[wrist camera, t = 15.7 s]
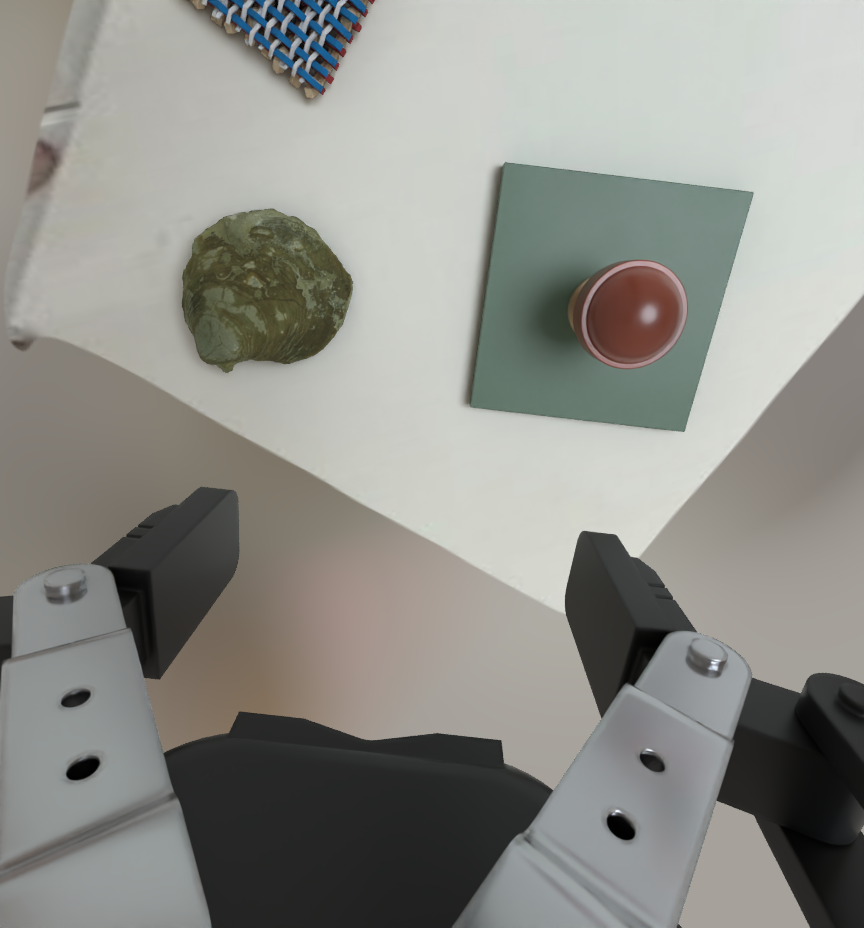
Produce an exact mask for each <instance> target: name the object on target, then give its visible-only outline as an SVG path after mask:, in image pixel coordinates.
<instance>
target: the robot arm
mask: <svg viewBox="0 0 864 928" xmlns="http://www.w3.org/2000/svg"><path fill="white" fill-rule="evenodd" d="M238 559H239V511H238V496H237V493H236V492H235V491H234V490H226V489H217V488H208V487H200V488H198V489H197V490H196V491H195V492H193V493H192V494H191V495H190V496H189V497H188V498H186V499H185V500H184V501H183V502H182V503H181V504H180V505H172V506H169V507H167V508H164V509H162V510H160V511H157V512H155V513H152V514H151V515H150V516H149V517H147V518H146V519H145V520H144V521H143V522H141V523H140V524H139V525H138V527H135V528H134V529H133V530H131V531H130V532H129V533H128V534H127V536H126V537H123V538H122V539H120V540H119V541H118V542H117V543H115V544H114V545H113V546H112V547H111V548H109V549H108V550H107V551H106V552H104V553H103V554H102V555H101V556H99V557H98V558H97V559H96V560H94V561H93V562H92V563H91V564H72V565H65V566H60V567H55V568H52V569H49V570H46V571H43V572H41V573H38V574H36V575H34V576H32V577H30V578H29V579H27V580H26V581H24V582H23V583H22V584H21V585H20V586H19V587H18V588H17V589H16V591H15V593H14V596H4V597H0V928H682V927H681V926H680V925H679V924H678V922H679V919H680V916H681V913H682V909H683V906H684V903H685V900H686V897H687V893H688V890H689V887H690V884H691V881H692V878H693V874H694V871H695V868H696V865H697V862H698V858H699V855H700V852H701V849H702V845H703V842H704V839H705V836H706V832H707V829H708V826H709V823H710V819H711V817H712V813H713V810H714V807H715V804H716V801H719V802H721V803H724V804H727V805H729V806H732V807H734V808H737V809H739V810H742V811H745V812H747V813H750V814H752V815H754V816H755V818H756V820H757V823H758V825H759V827H760V829H761V830H762V833H763V835H764V837H765V839H766V841H767V843H768V845H769V847H770V848H771V851H772V853H773V855H774V857H775V858H776V860H777V862H778V864H779V866H780V868H781V870H782V872H783V874H784V876H785V878H786V880H787V882H788V884H789V886H790V888H791V890H792V892H793V894H794V896H795V898H796V900H797V902H798V904H799V906H800V908H801V910H802V912H803V914H804V916H805V918H806V920H807V922H808V924H809V926H810V928H864V835H863V833H862V832H861V829H862V827H863V826H864V684H862V683H860V682H857V681H855V680H852V679H849V678H847V677H843V676H840V675H835V674H830V673H817V674H813V675H811V676H810V677H809V678H808V679H807V681H806V683H805V686H804V688H803V690H802V692H801V693H798V692H795V691H791V690H788V689H785V688H782V687H779V686H775V685H772V684H769V683H766V682H763V681H760V680H757V679H754V678H752V672H751V669H750V667H749V665H748V663H747V662H746V661H745V660H744V658H743V657H741V655H740V654H738V653H737V652H736V651H735V650H733V649H732V648H730V647H729V646H728V645H726V644H724V643H723V642H721V641H719V640H717V639H714V638H712V637H709V636H707V635H704V634H701V633H697V631H696V630H695V628H694V627H693V626H692V624H691V623H690V621H689V620H688V618H687V617H686V615H685V614H684V612H683V611H682V610H681V608H680V607H679V605H678V604H677V602H676V601H675V600H673V597H672V595H671V594H670V592H669V591H668V589H667V588H665V585H664V584H663V582H662V581H661V579H660V578H659V576H658V575H657V574H656V572H655V571H654V570H653V569H651V568H650V567H649V566H648V565H646V564H645V563H644V562H642V561H641V560H640V559H638V558H634V557H630V555H629V554H628V552H627V551H626V549H625V548H624V546H623V544H622V543H621V541H620V540H619V538H618V537H617V535H614V534H606V533H597V532H588V531H582V532H581V534H580V535H579V538H578V541H577V545H576V549H575V553H574V558H573V562H572V566H571V570H570V575H569V579H568V583H567V588H566V594H565V611H566V616H567V619H568V622H569V625H570V628H571V630H572V634H573V636H574V639H575V642H576V645H577V648H578V651H579V654H580V657H581V660H582V663H583V666H584V669H585V671H586V675H587V677H588V680H589V683H590V686H591V689H592V692H593V695H594V698H595V701H596V704H597V706H598V710H599V712H600V715H601V718H602V719H601V720H600V722H599V723H598V725H597V726H596V728H595V729H594V731H593V732H592V734H591V736H590V737H589V738H588V740H587V741H586V743H585V744H584V746H583V747H582V749H581V750H580V752H579V753H578V755H577V756H576V758H575V759H574V761H573V762H572V764H571V765H570V767H569V768H568V770H567V771H566V773H565V774H564V776H563V777H562V779H561V780H560V782H559V784H558V785H557V786H556V788H555V789H554V791H553V790H552V789H551V788H549V787H548V786H547V785H545V784H544V783H542V782H541V781H539V780H538V779H536V778H534V777H532V776H531V775H529V774H528V773H526V772H524V771H521V770H519V769H517V768H515V767H513V766H510V765H507V764H504V760H503V751H502V743H501V740H493V739H483V738H474V737H465V736H457V735H448V734H439V733H436V734H427V735H418V736H410V737H401V738H391V739H383V740H364V739H360V738H358V737H355V736H352V735H349V734H346V733H343V732H341V731H338V730H335V729H332V728H329V727H326V726H323V725H321V724H318V723H315V722H312V721H309V720H306V719H302V718H293V717H284V716H275V715H266V714H257V713H248V712H239V713H238V715H237V717H236V720H235V722H234V724H233V726H232V728H231V730H230V732H229V733H227V734H219V735H215V736H210V737H205V738H201V739H198V740H195V741H192V742H189V743H185V744H183V745H181V746H178V747H176V748H173V749H171V750H169V751H167V752H165V753H163V750H162V746H161V742H160V738H159V734H158V730H157V727H156V723H155V719H154V715H153V711H152V708H151V703H150V700H149V696H148V692H147V688H146V684H145V680H144V678H151V679H160V678H161V677H162V676H163V674H164V673H165V671H166V670H167V669H168V667H169V666H170V664H171V663H172V661H173V660H174V659H175V657H176V656H177V654H178V653H179V652H180V650H181V649H182V647H183V646H184V644H185V643H186V642H187V640H188V639H189V637H190V636H191V635H192V633H193V632H194V631H195V629H196V628H197V626H198V625H199V624H200V622H201V621H202V619H203V618H204V616H205V615H206V614H207V612H208V611H209V609H210V608H211V607H212V605H213V604H214V603H215V601H216V600H217V598H218V597H219V596H220V594H221V592H222V591H223V590H224V588H225V587H226V586H227V584H228V583H229V581H230V580H231V579H232V577H233V575H234V573H235V571H236V568H237V564H238Z"/></svg>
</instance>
